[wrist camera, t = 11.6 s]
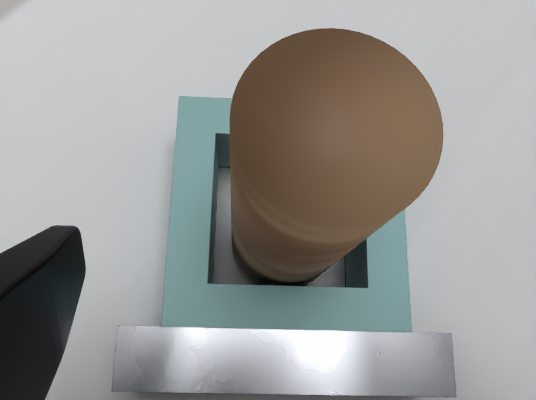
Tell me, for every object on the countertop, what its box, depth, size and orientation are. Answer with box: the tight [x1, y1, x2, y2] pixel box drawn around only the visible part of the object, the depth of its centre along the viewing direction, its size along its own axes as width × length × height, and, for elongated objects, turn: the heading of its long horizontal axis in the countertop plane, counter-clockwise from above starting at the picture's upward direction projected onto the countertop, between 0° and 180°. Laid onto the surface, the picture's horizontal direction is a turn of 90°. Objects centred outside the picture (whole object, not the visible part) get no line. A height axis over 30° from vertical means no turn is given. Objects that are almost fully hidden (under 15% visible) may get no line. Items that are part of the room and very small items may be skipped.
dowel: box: [229, 28, 443, 286], centre depth 15 cm, size 4×4×12 cm
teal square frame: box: [161, 96, 412, 332], centre depth 19 cm, size 8×8×4 cm
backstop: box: [112, 325, 456, 397], centre depth 18 cm, size 2×11×4 cm, turn 89°
